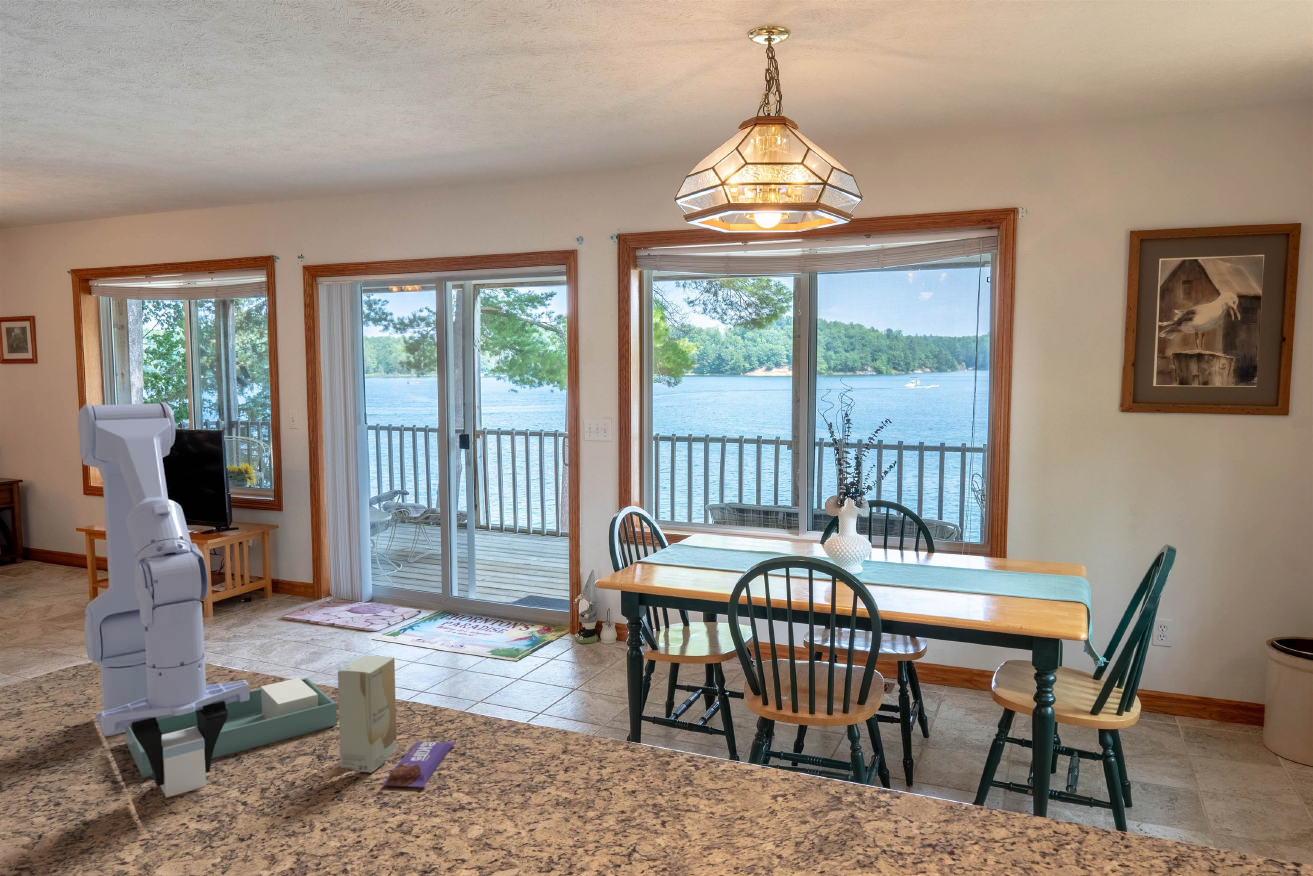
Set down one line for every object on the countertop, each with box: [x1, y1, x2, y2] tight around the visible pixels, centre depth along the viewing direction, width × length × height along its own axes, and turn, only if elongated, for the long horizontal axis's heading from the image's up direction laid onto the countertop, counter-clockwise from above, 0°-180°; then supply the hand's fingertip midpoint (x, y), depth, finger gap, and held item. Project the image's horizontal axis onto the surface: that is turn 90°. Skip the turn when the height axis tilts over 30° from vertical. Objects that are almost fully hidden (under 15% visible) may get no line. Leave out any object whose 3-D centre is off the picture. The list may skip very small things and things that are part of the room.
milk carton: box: [160, 727, 207, 799], centre depth 96 cm, size 4×4×6 cm
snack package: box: [381, 741, 457, 788], centre depth 102 cm, size 12×2×5 cm
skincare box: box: [337, 655, 398, 773], centre depth 103 cm, size 6×4×12 cm
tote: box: [125, 677, 338, 779], centre depth 110 cm, size 12×22×4 cm, turn 130°
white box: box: [260, 677, 318, 719], centre depth 114 cm, size 8×5×4 cm, turn 40°
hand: (182, 775), depth 96 cm, fingers closed on milk carton, 4 cm apart
